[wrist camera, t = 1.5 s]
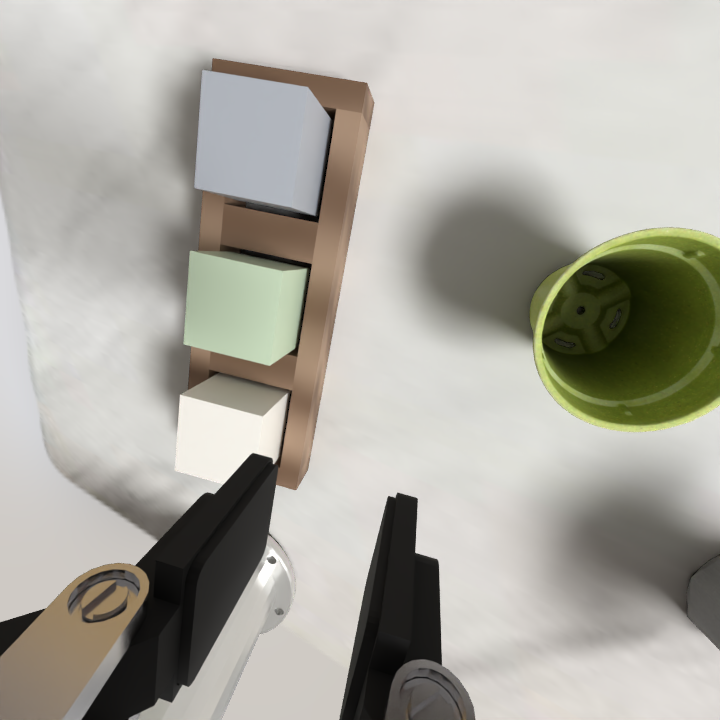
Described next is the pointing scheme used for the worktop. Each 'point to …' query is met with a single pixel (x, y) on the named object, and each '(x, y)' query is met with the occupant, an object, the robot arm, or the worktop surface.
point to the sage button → (244, 305)
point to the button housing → (296, 257)
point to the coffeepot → (706, 600)
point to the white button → (228, 425)
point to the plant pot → (634, 331)
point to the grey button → (261, 142)
